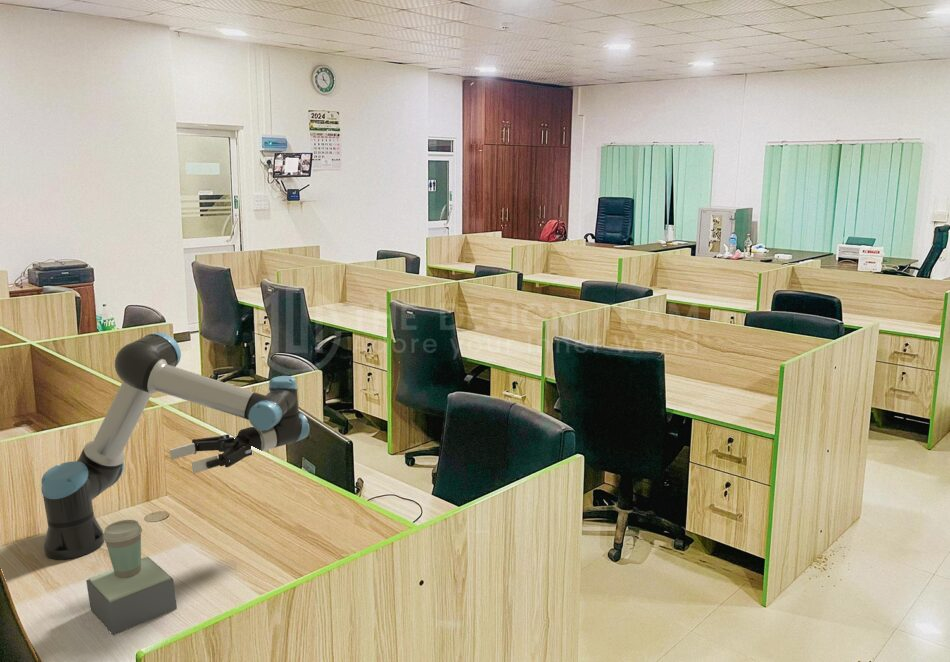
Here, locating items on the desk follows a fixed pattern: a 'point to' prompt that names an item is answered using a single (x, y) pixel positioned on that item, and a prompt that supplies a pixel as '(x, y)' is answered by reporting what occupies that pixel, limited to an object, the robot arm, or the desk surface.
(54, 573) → the desk surface
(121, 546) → the coffee cup
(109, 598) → the block
